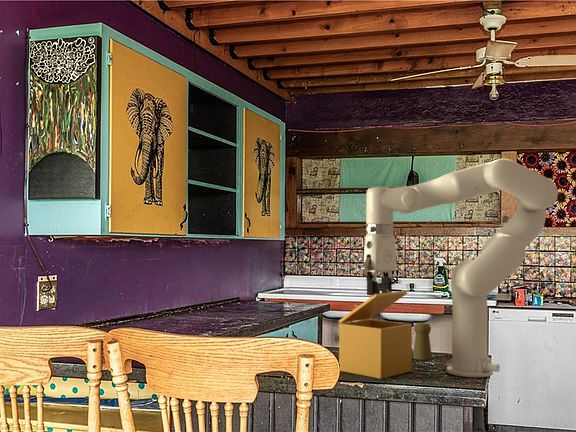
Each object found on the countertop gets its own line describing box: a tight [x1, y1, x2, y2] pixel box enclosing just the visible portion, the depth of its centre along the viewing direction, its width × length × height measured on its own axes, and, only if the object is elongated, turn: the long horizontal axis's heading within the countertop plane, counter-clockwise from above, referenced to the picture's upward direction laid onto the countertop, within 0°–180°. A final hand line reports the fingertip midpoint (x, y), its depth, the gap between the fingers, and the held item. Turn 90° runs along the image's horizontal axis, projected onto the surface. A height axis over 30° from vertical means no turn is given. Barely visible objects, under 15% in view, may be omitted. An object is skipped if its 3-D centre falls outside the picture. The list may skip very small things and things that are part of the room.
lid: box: [338, 282, 408, 324], centre depth 195 cm, size 15×15×5 cm
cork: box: [412, 322, 433, 361], centre depth 214 cm, size 6×6×11 cm
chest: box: [338, 318, 413, 380], centre depth 194 cm, size 15×15×13 cm
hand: (379, 293), depth 193 cm, fingers closed on lid, 6 cm apart
